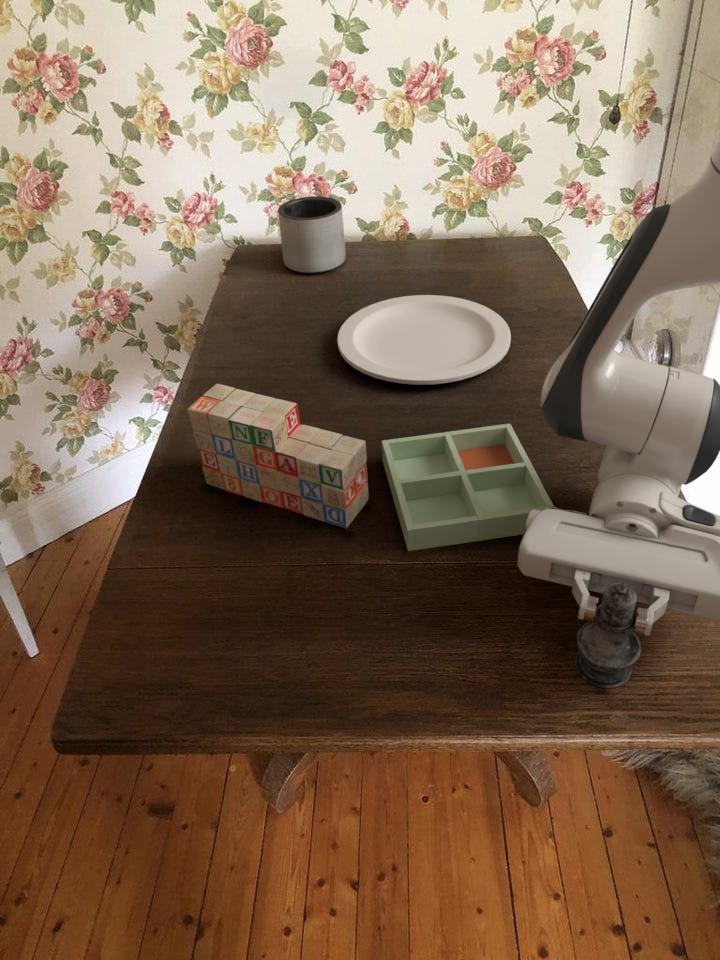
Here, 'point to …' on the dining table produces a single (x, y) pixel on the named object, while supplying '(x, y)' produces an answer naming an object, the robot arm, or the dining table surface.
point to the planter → (312, 234)
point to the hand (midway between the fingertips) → (614, 623)
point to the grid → (461, 486)
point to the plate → (424, 339)
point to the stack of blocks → (278, 455)
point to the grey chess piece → (609, 639)
